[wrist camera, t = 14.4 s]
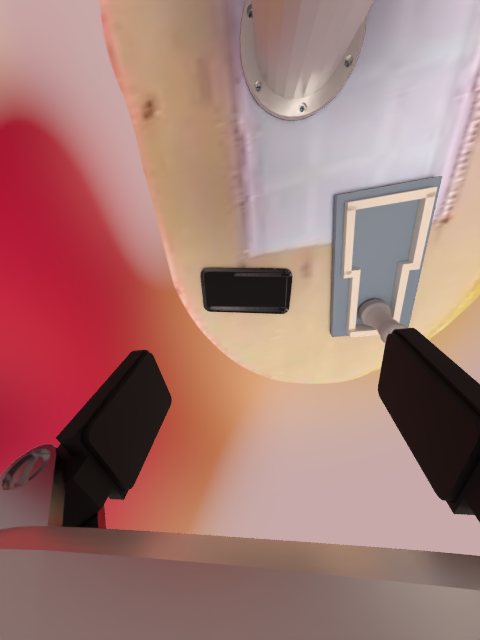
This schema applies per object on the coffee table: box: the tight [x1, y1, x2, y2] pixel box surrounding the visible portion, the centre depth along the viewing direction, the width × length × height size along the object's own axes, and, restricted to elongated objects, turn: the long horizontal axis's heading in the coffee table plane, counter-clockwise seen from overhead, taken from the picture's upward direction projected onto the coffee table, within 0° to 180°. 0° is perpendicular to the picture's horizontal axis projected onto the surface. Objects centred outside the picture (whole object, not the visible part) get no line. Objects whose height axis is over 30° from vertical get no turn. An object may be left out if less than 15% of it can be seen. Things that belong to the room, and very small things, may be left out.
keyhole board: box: [330, 176, 442, 337], centre depth 32 cm, size 22×12×4 cm, turn 10°
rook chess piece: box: [358, 299, 406, 343], centre depth 32 cm, size 4×4×8 cm
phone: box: [201, 268, 292, 314], centre depth 37 cm, size 8×1×15 cm
